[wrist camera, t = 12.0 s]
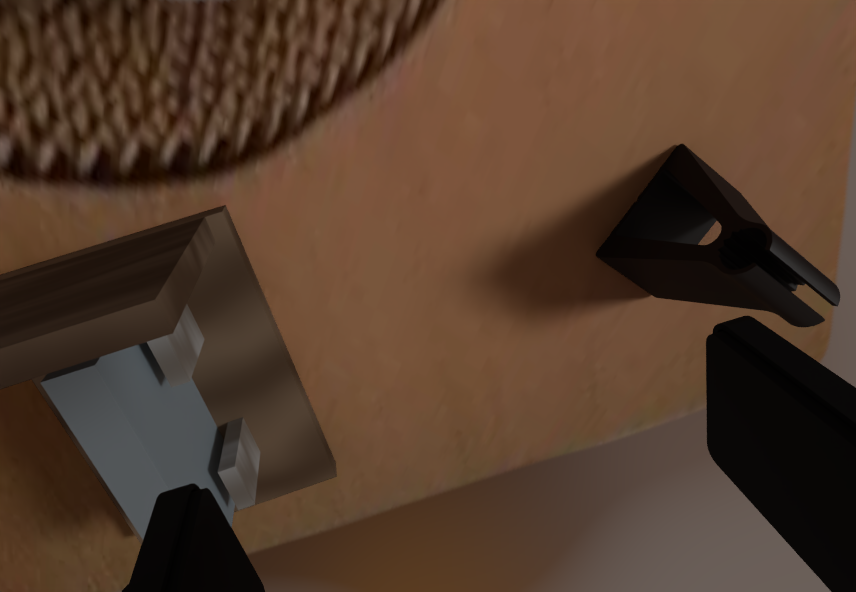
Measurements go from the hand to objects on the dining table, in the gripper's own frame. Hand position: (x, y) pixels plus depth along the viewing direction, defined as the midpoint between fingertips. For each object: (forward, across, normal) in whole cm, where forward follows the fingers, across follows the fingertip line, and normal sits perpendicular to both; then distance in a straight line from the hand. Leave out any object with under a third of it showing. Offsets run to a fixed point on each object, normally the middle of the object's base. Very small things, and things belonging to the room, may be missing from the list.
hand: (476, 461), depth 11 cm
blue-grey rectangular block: (+24, +15, +11) cm, 31 cm away
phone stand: (+27, -19, +10) cm, 35 cm away
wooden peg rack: (+26, +15, +11) cm, 32 cm away
